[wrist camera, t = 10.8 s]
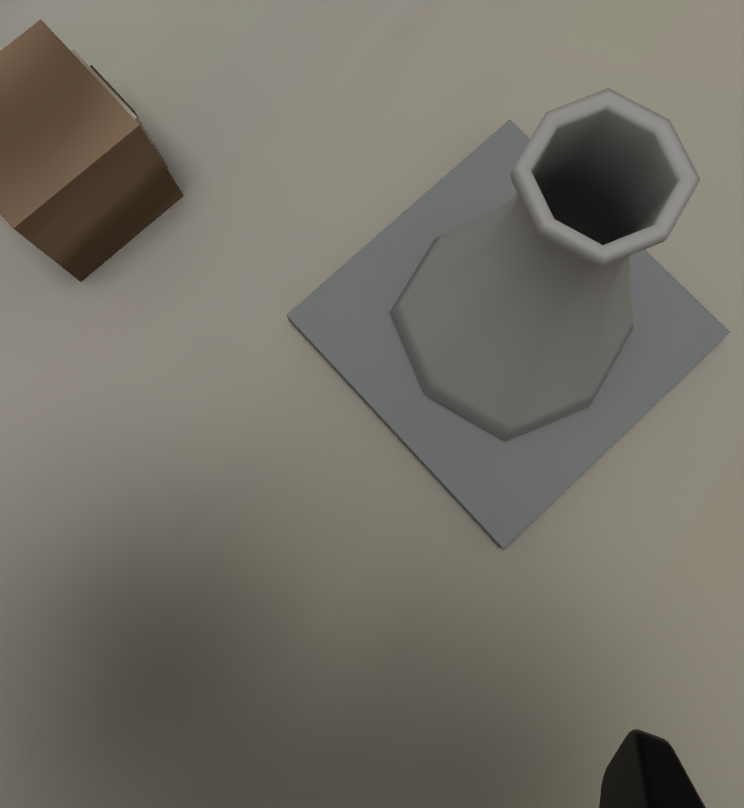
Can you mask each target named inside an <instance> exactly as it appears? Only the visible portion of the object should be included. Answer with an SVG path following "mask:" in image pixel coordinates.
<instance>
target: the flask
mask: <svg viewBox="0 0 744 808" xmlns="http://www.w3.org/2000/svg"><path fill="white" fill-rule="evenodd" d="M510 176H511V181H512V183H513V185H514V187H515V189H516V191H517V193H516V195H515V196H514V197H513V198H512V199H511V200H510V201H509V202H508V203H506V204H504V205H502V206H500V207H498V208H497V209H495V210H493V211H491V212H489V213H487V214H485V215H484V216H482V217H480V218H478V219H476V220H474V221H472V222H470V223H468V224H465V225H463V226H461V227H458V228H456V229H453V230H451V231H449V232H446V233H444V234H442V235H440V236H438V237H436V238H435V239H434V241H433V242H432V244H431V245H430V247H429V249H428V250H427V252H426V254H425V255H424V257H423V258H422V260H421V262H420V263H419V265H418V267H417V268H416V270H415V272H414V273H413V275H412V276H411V278H410V280H409V281H408V283H407V285H406V286H405V288H404V289H403V291H402V293H401V294H400V296H399V298H398V299H397V301H396V303H395V304H394V306H393V307H392V309H391V311H390V314H391V316H392V319H393V321H394V323H395V326H396V328H397V330H398V333H399V335H400V337H401V340H402V342H403V344H404V347H405V349H406V351H407V354H408V356H409V358H410V361H411V363H412V365H413V368H414V370H415V372H416V375H417V377H418V379H419V382H420V384H421V386H422V389H423V391H424V393H425V394H426V395H427V396H429V397H431V398H432V399H434V400H436V401H438V402H439V403H441V404H443V405H444V406H446V407H448V408H450V409H451V410H453V411H455V412H457V413H458V414H460V415H462V416H463V417H465V418H467V419H469V420H470V421H472V422H474V423H475V424H477V425H479V426H481V427H482V428H484V429H486V430H487V431H489V432H491V433H493V434H494V435H496V436H498V437H499V438H501V439H503V440H505V441H507V440H509V439H511V438H514V437H516V436H519V435H521V434H524V433H526V432H528V431H531V430H533V429H536V428H538V427H540V426H543V425H545V424H548V423H550V422H553V421H555V420H557V419H560V418H562V417H565V416H567V415H569V414H572V413H574V412H577V411H579V410H582V409H584V408H586V407H589V406H590V405H591V404H592V402H593V400H594V398H595V396H596V395H597V393H598V391H599V389H600V387H601V386H602V384H603V382H604V380H605V378H606V377H607V375H608V373H609V371H610V370H611V368H612V366H613V364H614V362H615V361H616V359H617V357H618V355H619V353H620V352H621V350H622V348H623V346H624V344H625V343H626V341H627V339H628V337H629V335H630V334H631V332H632V330H633V315H632V307H631V299H630V255H632V254H634V253H637V252H639V251H642V250H644V249H647V248H649V247H652V246H654V245H657V244H659V243H662V242H664V241H665V240H666V239H667V237H668V236H669V234H670V233H671V231H672V229H673V227H674V225H675V224H676V222H677V220H678V218H679V216H680V215H681V213H682V211H683V209H684V208H685V206H686V204H687V202H688V200H689V199H690V197H691V195H692V193H693V192H694V190H695V188H696V186H697V184H698V183H699V181H700V178H699V176H698V174H697V172H696V170H695V168H694V166H693V164H692V162H691V160H690V158H689V156H688V154H687V153H686V151H685V149H684V147H683V145H682V143H681V141H680V139H679V137H678V135H677V133H676V131H675V129H674V128H673V126H672V124H671V122H670V120H669V119H667V118H665V117H663V116H661V115H659V114H657V113H655V112H653V111H651V110H649V109H648V108H646V107H644V106H642V105H640V104H638V103H636V102H634V101H632V100H630V99H628V98H626V97H625V96H623V95H621V94H619V93H617V92H615V91H613V90H611V89H609V88H608V89H605V90H602V91H600V92H597V93H595V94H592V95H590V96H587V97H585V98H582V99H579V100H577V101H574V102H572V103H569V104H567V105H564V106H561V107H559V108H556V109H554V110H551V111H549V112H546V114H545V115H544V117H543V119H542V120H541V122H540V124H539V125H538V127H537V129H536V130H535V132H534V134H533V135H532V137H531V139H530V140H529V142H528V144H527V145H526V147H525V149H524V150H523V152H522V154H521V155H520V157H519V158H518V160H517V162H516V163H515V165H514V167H513V169H512V171H511V173H510Z"/></svg>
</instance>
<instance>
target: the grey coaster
mask: <svg viewBox="0 0 744 808" xmlns="http://www.w3.org/2000/svg"><path fill="white" fill-rule="evenodd" d="M529 140H530V139H529V138H528V137H527V136H526V135H525V134H524V133H523V132H522V131H521V130H520V129H519V128H518V127H517V126H516V125H515V124H514V123H513V122H512V121H511V120H509V121H507V122H506V123H505V124H504V125H503V126H502V127H501V128H499V129H498V130H497V131H496V132H495V133H494V134H493V135H491V136H490V137H489V138H488V139H487V140H486V141H485V142H483V143H482V144H481V145H480V146H479V147H478V148H477V149H476V150H474V151H473V152H472V153H471V154H470V155H469V156H468V157H466V158H465V159H464V160H463V161H462V162H461V163H460V164H458V165H457V166H456V167H455V168H454V169H453V170H452V171H450V172H449V173H448V174H447V175H446V176H445V177H444V178H442V179H441V180H440V181H439V182H438V183H437V184H436V185H434V186H433V187H432V188H431V189H430V190H429V191H428V192H426V193H425V194H424V195H423V196H422V197H421V198H420V199H418V200H417V201H416V202H415V203H414V204H413V205H412V206H410V207H409V208H408V209H407V210H406V211H405V212H404V213H402V214H401V215H400V216H399V217H398V218H397V219H396V220H394V221H393V222H392V223H391V224H390V225H389V226H388V227H387V228H385V229H384V230H383V231H382V232H381V233H380V234H379V235H377V236H376V237H375V238H374V239H373V240H372V241H371V242H369V243H368V244H367V245H366V246H365V247H364V248H363V249H361V250H360V251H359V252H358V253H357V254H356V255H355V256H353V257H352V258H351V259H350V260H349V261H348V262H347V263H345V264H344V265H343V266H342V267H341V268H340V269H339V270H337V271H336V272H335V273H334V274H333V275H332V276H331V277H329V278H328V279H327V280H326V281H325V282H324V283H323V284H321V285H320V286H319V287H318V288H317V289H316V290H315V291H313V292H312V293H311V294H310V295H309V296H308V297H307V298H306V299H304V300H303V301H302V302H301V303H300V304H299V305H298V306H296V307H295V308H294V309H293V310H292V311H291V312H290V313H288V314H287V317H288V319H289V321H290V322H291V323H292V324H293V325H294V326H295V327H296V328H297V330H298V331H299V332H300V333H301V334H302V335H303V336H304V337H305V338H306V339H307V340H308V341H309V342H310V344H311V345H312V346H313V347H314V348H315V349H316V350H317V351H318V352H319V353H320V354H321V355H322V356H323V358H324V359H325V360H326V361H327V362H328V363H329V364H330V365H331V366H332V367H333V368H334V369H335V370H336V372H337V373H338V374H339V375H340V376H341V377H342V378H343V379H344V380H345V381H346V382H347V383H348V384H349V386H350V387H351V388H352V389H353V390H354V391H355V392H356V393H357V394H358V395H359V396H360V397H361V398H362V400H363V401H364V402H365V403H366V404H367V405H368V406H369V407H370V408H371V409H372V410H373V411H374V412H375V414H376V415H377V416H378V417H379V418H380V419H381V420H382V421H383V422H384V423H385V424H386V425H387V426H388V427H389V429H390V430H391V431H392V432H393V433H394V434H395V435H396V436H397V437H398V438H399V439H400V440H401V441H402V443H403V444H404V445H405V446H406V447H407V448H408V449H409V450H410V451H411V452H412V453H413V454H414V455H415V457H416V458H417V459H418V460H419V461H420V462H421V463H422V464H423V465H424V466H425V467H426V468H427V469H428V471H429V472H430V473H431V474H432V475H433V476H434V477H435V478H436V479H437V480H438V481H439V482H440V483H441V485H442V486H443V487H444V488H445V489H446V490H447V491H448V492H449V493H450V494H451V495H452V496H453V497H454V499H455V500H456V501H457V502H458V503H459V504H460V505H461V506H462V507H463V508H464V509H465V510H466V511H467V513H468V514H469V515H470V516H471V517H472V518H473V519H474V520H475V521H476V522H477V523H478V524H479V525H480V527H481V528H482V529H483V530H484V531H485V532H486V533H487V534H488V535H489V536H490V537H491V538H492V539H493V540H494V542H495V543H496V544H497V545H498V546H499V547H500V548H502V549H504V548H505V547H506V546H507V545H508V544H510V543H511V542H512V541H513V540H514V539H515V538H516V537H517V536H518V535H519V534H520V533H521V532H522V531H523V530H524V529H525V528H526V527H527V526H528V525H529V524H530V523H531V522H532V521H534V520H535V519H536V518H537V517H538V516H539V515H540V514H541V513H542V512H543V511H544V510H545V509H546V508H547V507H548V506H549V505H550V504H551V503H552V502H553V501H554V500H555V499H556V498H558V497H559V496H560V495H561V494H562V493H563V492H564V491H565V490H566V489H567V488H568V487H569V486H570V485H571V484H572V483H573V482H574V481H575V480H576V479H577V478H578V477H579V476H581V475H582V474H583V473H584V472H585V471H586V470H587V469H588V468H589V467H590V466H591V465H592V464H593V463H594V462H595V461H596V460H597V459H598V458H599V457H600V456H601V455H602V454H603V453H605V452H606V451H607V450H608V449H609V448H610V447H611V446H612V445H613V444H614V443H615V442H616V441H617V440H618V439H619V438H620V437H621V436H622V435H623V434H624V433H625V432H626V431H627V430H629V429H630V428H631V427H632V426H633V425H634V424H635V423H636V422H637V421H638V420H639V419H640V418H641V417H642V416H643V415H644V414H645V413H646V412H647V411H648V410H649V409H650V408H651V407H653V406H654V405H655V404H656V403H657V402H658V401H659V400H660V399H661V398H662V397H663V396H664V395H665V394H666V393H667V392H668V391H669V390H670V389H671V388H672V387H673V386H674V385H676V384H677V383H678V382H679V381H680V380H681V379H682V378H683V377H684V376H685V375H686V374H687V373H688V372H689V371H690V370H691V369H692V368H693V367H694V366H695V365H696V364H697V363H698V362H700V361H701V360H702V359H703V358H704V357H705V356H706V355H707V354H708V353H709V352H710V351H711V350H712V349H713V348H714V347H715V346H716V345H717V344H718V343H719V342H720V341H721V340H722V339H724V338H725V337H726V336H727V335H728V334H729V333H730V331H728V330H727V329H726V328H725V327H724V326H723V325H722V324H721V323H720V322H719V321H718V320H717V319H716V318H715V317H714V316H713V315H712V314H711V313H710V312H709V311H708V310H707V309H706V308H705V307H704V306H703V305H702V304H700V303H699V302H698V301H697V300H696V299H695V298H694V297H693V296H692V295H691V294H690V293H689V292H688V291H687V290H686V289H685V288H684V287H683V286H682V285H681V284H680V283H679V282H678V281H677V280H676V279H675V278H674V277H672V276H671V275H670V274H669V273H668V272H667V271H666V270H665V269H664V268H663V267H662V266H661V265H660V264H659V263H658V262H657V261H656V260H655V259H654V258H653V257H652V256H651V255H650V254H649V253H648V252H647V251H646V250H645V249H644V250H642V251H639V252H637V253H634V254H632V255H630V299H631V307H632V315H633V330H632V332H631V334H630V335H629V337H628V339H627V341H626V343H625V344H624V346H623V348H622V350H621V352H620V353H619V355H618V357H617V359H616V361H615V362H614V364H613V366H612V368H611V370H610V371H609V373H608V375H607V377H606V378H605V380H604V382H603V384H602V386H601V387H600V389H599V391H598V393H597V395H596V396H595V398H594V400H593V402H592V404H591V405H590V406H589V407H586V408H584V409H582V410H579V411H577V412H574V413H572V414H569V415H567V416H565V417H562V418H560V419H557V420H555V421H553V422H550V423H548V424H545V425H543V426H540V427H538V428H536V429H533V430H531V431H528V432H526V433H524V434H521V435H519V436H516V437H514V438H511V439H509V440H507V441H505V440H503V439H501V438H499V437H498V436H496V435H494V434H493V433H491V432H489V431H487V430H486V429H484V428H482V427H481V426H479V425H477V424H475V423H474V422H472V421H470V420H469V419H467V418H465V417H463V416H462V415H460V414H458V413H457V412H455V411H453V410H451V409H450V408H448V407H446V406H444V405H443V404H441V403H439V402H438V401H436V400H434V399H432V398H431V397H429V396H427V395H426V394H425V393H424V391H423V389H422V386H421V384H420V382H419V379H418V377H417V375H416V372H415V370H414V368H413V365H412V363H411V361H410V358H409V356H408V354H407V351H406V349H405V347H404V344H403V342H402V340H401V337H400V335H399V333H398V330H397V328H396V326H395V323H394V321H393V319H392V316H391V314H390V311H391V309H392V307H393V306H394V304H395V303H396V301H397V299H398V298H399V296H400V294H401V293H402V291H403V289H404V288H405V286H406V285H407V283H408V281H409V280H410V278H411V276H412V275H413V273H414V272H415V270H416V268H417V267H418V265H419V263H420V262H421V260H422V258H423V257H424V255H425V254H426V252H427V250H428V249H429V247H430V245H431V244H432V242H433V241H434V239H435V238H436V237H438V236H440V235H442V234H444V233H446V232H449V231H451V230H453V229H456V228H458V227H461V226H463V225H465V224H468V223H470V222H472V221H474V220H476V219H478V218H480V217H482V216H484V215H485V214H487V213H489V212H491V211H493V210H495V209H497V208H498V207H500V206H502V205H504V204H506V203H508V202H509V201H510V200H511V199H512V198H513V197H514V196H515V195H516V193H517V191H516V189H515V187H514V185H513V183H512V181H511V176H510V173H511V171H512V169H513V167H514V165H515V163H516V162H517V160H518V158H519V157H520V155H521V154H522V152H523V150H524V149H525V147H526V145H527V144H528V142H529Z"/></svg>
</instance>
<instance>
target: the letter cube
mask: <svg viewBox="0 0 744 808" xmlns="http://www.w3.org/2000/svg"><path fill="white" fill-rule="evenodd" d="M167 168H168V167H167V165H166V163H165V162H164V160H163V158H162V157H161V155H160V153H159V152H158V150H157V149H156V147H155V145H154V144H153V142H152V140H151V139H150V137H149V135H148V134H147V132H146V131H145V129H144V127H143V126H142V124H141V122H140V121H139V119H138V117H137V115H136V113H135V112H134V110H133V109H132V108H131V107H130V106H129V105H128V104H127V102H126V101H125V100H124V99H123V98H122V97H121V96H120V95H119V94H118V93H117V92H116V91H115V90H114V89H113V88H112V87H111V85H110V84H109V83H108V82H107V81H106V80H105V79H104V78H103V77H102V76H101V75H100V74H99V73H98V72H97V71H96V70H95V68H94V67H93V66H92V65H91V66H89V65H88V64H87V63H86V62H85V61H84V60H83V59H82V58H81V57H80V56H79V55H78V54H77V52H76V51H75V50H74V49H73V50H72V51H70V50H69V49H68V48H67V47H66V46H65V45H64V44H63V43H62V41H61V40H60V39H59V38H58V37H57V36H56V35H55V34H54V33H53V32H52V31H51V30H50V29H49V28H48V27H47V26H46V24H45V23H44V22H43V21H42V20H39V21H38V22H37V23H36V24H34V25H33V26H32V27H30V28H29V29H28V30H27V31H25V32H24V33H23V34H22V35H20V36H19V37H18V38H17V39H15V40H14V41H13V42H11V43H10V44H9V45H8V46H6V47H5V48H4V49H3V50H1V51H0V214H1V215H2V216H3V217H4V218H5V219H6V221H7V222H8V223H9V224H10V225H11V226H12V227H13V229H15V230H16V231H17V232H19V233H20V234H21V235H22V236H24V237H25V238H26V239H27V240H29V241H30V242H31V243H32V244H34V245H35V246H36V247H38V248H39V249H40V250H41V251H43V252H44V253H45V254H46V255H48V256H49V257H50V258H52V259H53V260H54V261H55V262H57V263H58V264H59V265H60V266H62V267H63V268H64V269H65V270H67V271H68V272H69V273H71V274H72V275H73V276H74V277H76V278H77V279H78V280H79V281H83V280H84V279H85V278H86V277H87V276H89V275H90V274H91V273H92V272H93V271H95V270H96V269H97V268H98V267H99V266H100V265H102V264H103V263H104V262H105V261H106V260H108V259H109V258H110V257H111V256H112V255H114V254H115V253H116V252H117V251H118V250H120V249H121V248H122V247H123V246H124V245H126V244H127V243H128V242H129V241H130V240H131V239H133V238H134V237H135V236H136V235H137V234H139V233H140V232H141V231H142V230H143V229H145V228H146V227H147V226H148V225H149V224H151V223H152V222H153V221H154V220H155V219H157V218H158V217H159V216H160V215H161V214H162V213H164V212H165V211H166V210H167V209H168V208H170V207H171V206H172V205H173V204H174V203H176V202H177V201H178V200H179V199H180V198H182V197H183V194H182V193H181V191H180V189H179V188H178V186H177V184H176V183H175V181H174V180H173V178H172V176H171V175H170V173H169V172H168V170H167Z"/></svg>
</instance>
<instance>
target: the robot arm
mask: <svg viewBox="0 0 744 808" xmlns="http://www.w3.org/2000/svg"><path fill="white" fill-rule="evenodd" d="M599 808H705V806H704V804H703V802H702V800H701V799H700V797H699V795H698V793H697V791H696V789H695V788H694V786H693V784H692V782H691V780H690V779H689V777H688V775H687V773H686V771H685V769H684V768H683V766H682V764H681V762H680V760H679V758H678V757H677V755H676V753H675V751H674V749H673V748H672V746H671V745H670V744H669V743H668V742H667V741H666V740H665V739H663V738H660V737H658V736H655V735H652V734H649V733H647V732H644V731H641V730H637V729H635V730H632V731H630V732H629V733H628V735H627V736H626V738H625V739H624V741H623V742H622V744H621V745H620V747H619V749H618V750H617V752H616V753H615V755H614V757H613V758H612V760H611V761H610V763H609V765H608V766H607V768H606V771H605V773H604V777H603V781H602V787H601V796H600V805H599Z"/></svg>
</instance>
